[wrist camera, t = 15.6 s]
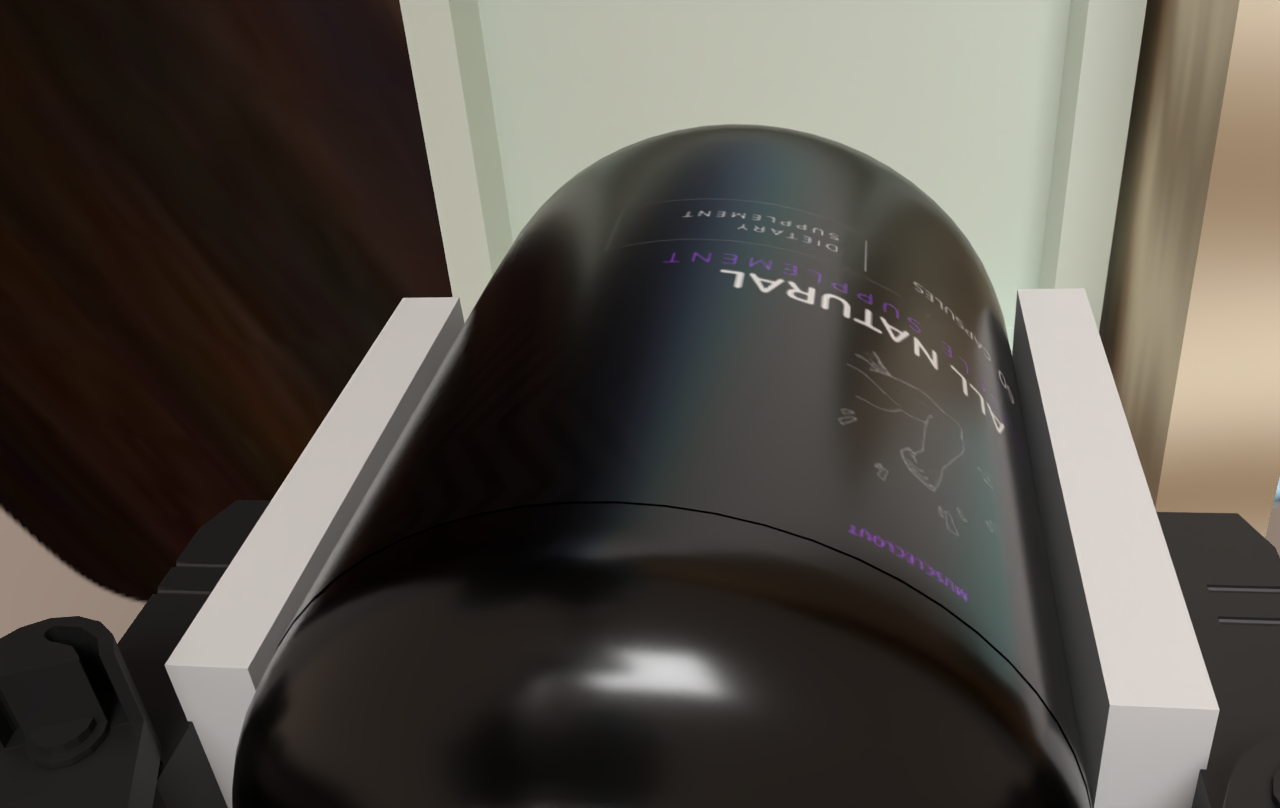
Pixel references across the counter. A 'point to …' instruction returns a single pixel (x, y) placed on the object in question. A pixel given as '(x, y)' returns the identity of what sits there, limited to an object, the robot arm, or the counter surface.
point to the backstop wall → (1201, 259)
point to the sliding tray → (791, 109)
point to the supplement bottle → (696, 521)
